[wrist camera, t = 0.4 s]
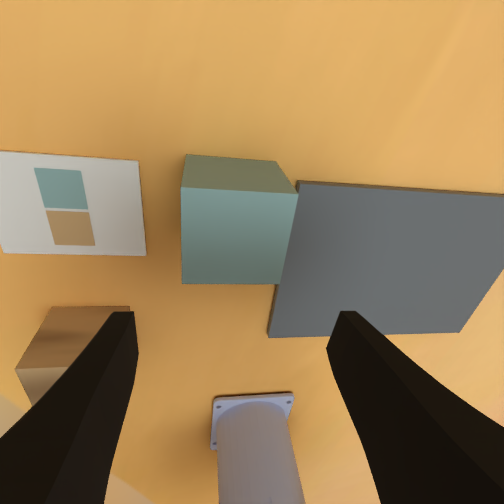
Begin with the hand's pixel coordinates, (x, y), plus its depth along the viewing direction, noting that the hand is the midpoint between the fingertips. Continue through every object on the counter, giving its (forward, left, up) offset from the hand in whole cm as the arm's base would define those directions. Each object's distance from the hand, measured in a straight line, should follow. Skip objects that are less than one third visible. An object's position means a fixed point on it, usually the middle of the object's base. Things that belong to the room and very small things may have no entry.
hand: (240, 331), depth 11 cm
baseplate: (-4, -13, -9) cm, 17 cm away
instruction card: (0, +9, -9) cm, 13 cm away
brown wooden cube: (-10, +9, -10) cm, 16 cm away
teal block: (+1, 0, -10) cm, 10 cm away
